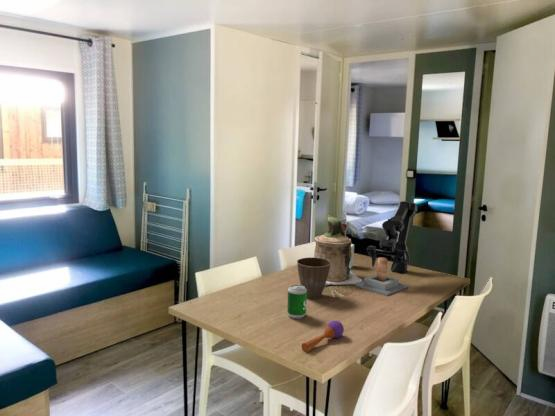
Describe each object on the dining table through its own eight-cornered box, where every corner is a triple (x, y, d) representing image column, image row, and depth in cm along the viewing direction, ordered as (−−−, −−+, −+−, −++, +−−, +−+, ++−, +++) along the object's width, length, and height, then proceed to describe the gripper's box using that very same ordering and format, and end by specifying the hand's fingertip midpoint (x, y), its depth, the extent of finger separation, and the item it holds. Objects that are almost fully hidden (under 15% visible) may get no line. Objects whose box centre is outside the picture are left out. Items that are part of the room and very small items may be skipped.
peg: (374, 283, 221) (376, 257, 219) (382, 283, 222) (384, 257, 220) (379, 286, 217) (380, 260, 215) (387, 285, 218) (389, 259, 216)
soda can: (300, 321, 176) (301, 291, 175) (283, 316, 180) (284, 287, 179) (309, 314, 183) (310, 286, 181) (293, 310, 187) (293, 282, 185)
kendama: (297, 338, 153) (332, 317, 167) (300, 355, 153) (334, 332, 168) (310, 340, 149) (345, 319, 163) (313, 357, 149) (348, 334, 163)
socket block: (354, 286, 220) (355, 278, 219) (375, 278, 232) (376, 271, 231) (386, 295, 207) (387, 287, 206) (407, 287, 219) (407, 279, 219)
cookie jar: (316, 287, 218) (318, 221, 213) (301, 272, 241) (303, 212, 236) (364, 284, 224) (367, 220, 219) (344, 269, 247) (347, 211, 242)
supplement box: (337, 267, 251) (338, 245, 249) (340, 264, 258) (341, 242, 256) (350, 269, 248) (351, 246, 246) (353, 265, 255) (354, 243, 253)
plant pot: (335, 296, 205) (337, 262, 203) (315, 304, 194) (316, 268, 192) (310, 288, 215) (311, 255, 213) (289, 296, 204) (290, 261, 202)
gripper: (368, 229, 225) (359, 256, 217) (406, 234, 215) (398, 262, 207) (373, 242, 232) (364, 268, 225) (410, 247, 223) (402, 274, 215)
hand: (381, 268), depth 218 cm, fingers open, 9 cm apart
